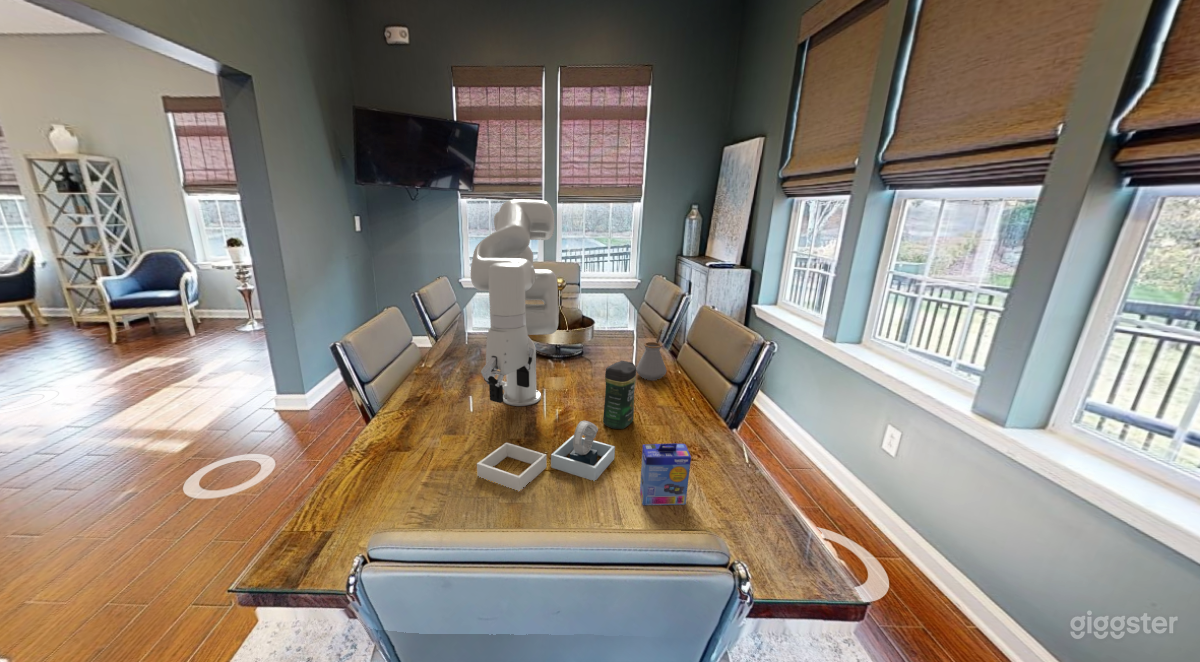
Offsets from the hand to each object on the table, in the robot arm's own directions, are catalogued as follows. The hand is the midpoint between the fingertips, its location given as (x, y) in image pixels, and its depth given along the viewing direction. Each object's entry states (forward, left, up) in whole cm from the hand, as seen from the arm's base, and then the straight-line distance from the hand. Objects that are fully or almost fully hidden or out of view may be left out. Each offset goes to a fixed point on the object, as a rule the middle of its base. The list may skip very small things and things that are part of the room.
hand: (510, 393), depth 101 cm
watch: (+13, +12, -20) cm, 27 cm away
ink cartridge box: (+35, +8, -21) cm, 41 cm away
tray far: (+13, +12, -20) cm, 27 cm away
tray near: (0, 0, -20) cm, 20 cm away
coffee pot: (+7, +81, -20) cm, 83 cm away
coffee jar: (+12, +36, -20) cm, 43 cm away
